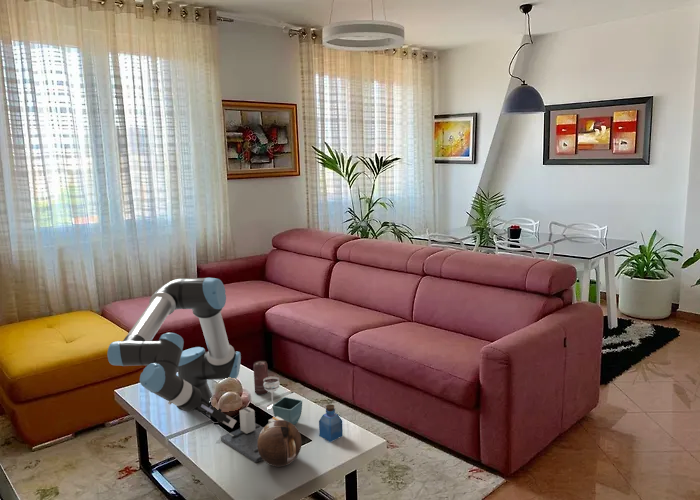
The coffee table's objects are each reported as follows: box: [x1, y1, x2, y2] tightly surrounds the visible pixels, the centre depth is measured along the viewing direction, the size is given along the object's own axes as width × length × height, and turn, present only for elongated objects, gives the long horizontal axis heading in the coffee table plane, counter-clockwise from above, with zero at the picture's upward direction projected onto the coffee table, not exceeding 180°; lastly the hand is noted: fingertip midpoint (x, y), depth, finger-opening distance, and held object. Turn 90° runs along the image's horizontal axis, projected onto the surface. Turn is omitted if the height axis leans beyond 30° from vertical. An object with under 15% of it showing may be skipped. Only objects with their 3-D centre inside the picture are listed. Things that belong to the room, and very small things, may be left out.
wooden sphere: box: [257, 420, 303, 468], centre depth 187 cm, size 15×15×15 cm
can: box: [253, 360, 269, 396], centre depth 243 cm, size 6×6×14 cm
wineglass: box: [263, 376, 280, 410], centre depth 229 cm, size 7×7×12 cm
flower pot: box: [272, 396, 303, 426], centre depth 214 cm, size 9×9×9 cm
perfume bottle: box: [318, 404, 344, 443], centre depth 204 cm, size 6×6×12 cm
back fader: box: [239, 406, 256, 434], centre depth 207 cm, size 4×4×8 cm
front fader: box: [267, 416, 284, 424], centre depth 199 cm, size 4×4×8 cm
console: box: [220, 422, 264, 464], centre depth 201 cm, size 22×15×2 cm
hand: (233, 423), depth 184 cm, fingers closed
